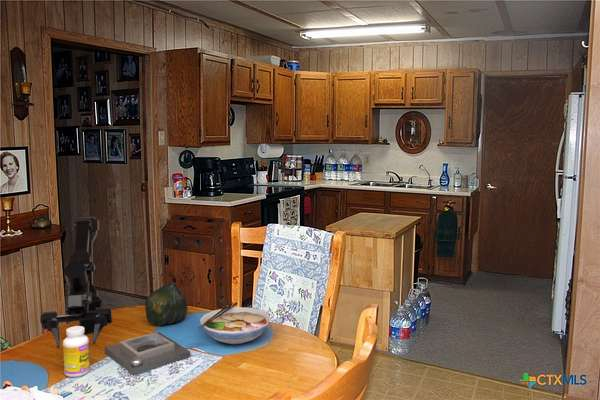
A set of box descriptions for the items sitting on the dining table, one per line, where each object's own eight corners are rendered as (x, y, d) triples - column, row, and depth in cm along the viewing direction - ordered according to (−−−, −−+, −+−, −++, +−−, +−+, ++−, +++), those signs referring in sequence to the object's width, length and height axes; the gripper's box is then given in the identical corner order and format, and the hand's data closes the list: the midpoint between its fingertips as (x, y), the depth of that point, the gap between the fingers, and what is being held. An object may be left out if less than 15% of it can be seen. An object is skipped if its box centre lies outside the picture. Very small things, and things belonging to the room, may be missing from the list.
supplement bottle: (80, 379, 145) (78, 334, 144) (59, 376, 147) (56, 332, 145) (94, 368, 152) (92, 325, 150) (74, 366, 153) (71, 323, 152)
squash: (129, 310, 185) (152, 281, 180) (156, 299, 199) (178, 272, 194) (154, 340, 182) (178, 313, 177) (180, 327, 196) (203, 301, 191)
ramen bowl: (251, 361, 157) (251, 334, 156) (184, 349, 165) (184, 324, 164) (282, 331, 181) (282, 308, 180) (223, 322, 188) (222, 300, 187)
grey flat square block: (105, 353, 162) (104, 340, 162) (159, 338, 174) (158, 326, 174) (133, 375, 148) (132, 361, 147) (190, 357, 159) (190, 344, 159)
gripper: (39, 285, 149) (34, 337, 140) (109, 279, 154) (109, 329, 145) (45, 303, 157) (41, 354, 148) (112, 298, 162) (112, 346, 153)
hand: (76, 345), depth 148 cm, fingers open, 9 cm apart
